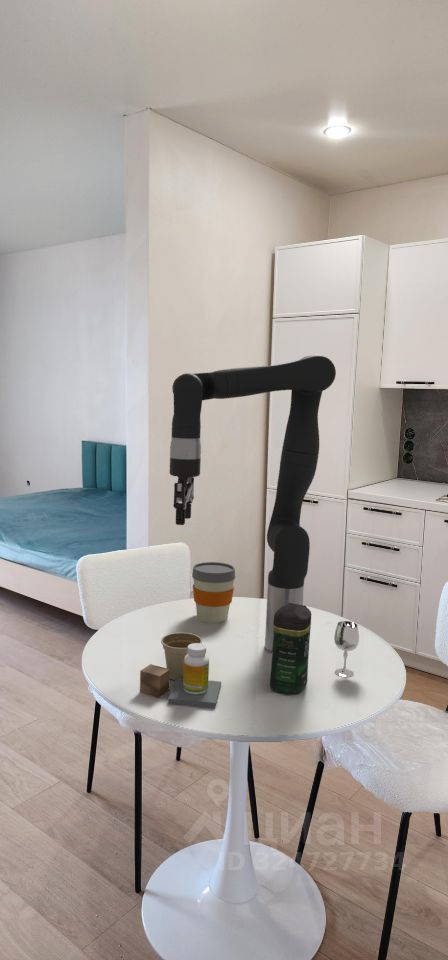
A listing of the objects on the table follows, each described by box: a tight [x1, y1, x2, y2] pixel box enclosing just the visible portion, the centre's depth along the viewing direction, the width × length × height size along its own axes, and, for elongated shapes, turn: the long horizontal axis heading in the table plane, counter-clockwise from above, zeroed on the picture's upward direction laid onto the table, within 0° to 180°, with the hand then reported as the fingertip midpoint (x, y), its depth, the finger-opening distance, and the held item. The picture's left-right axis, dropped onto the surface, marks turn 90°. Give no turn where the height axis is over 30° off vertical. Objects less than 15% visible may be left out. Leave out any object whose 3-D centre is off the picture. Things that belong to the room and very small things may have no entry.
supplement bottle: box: [183, 643, 210, 695], centre depth 136 cm, size 5×5×10 cm
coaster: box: [167, 678, 222, 709], centre depth 137 cm, size 10×10×1 cm
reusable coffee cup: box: [191, 561, 236, 624], centre depth 185 cm, size 13×13×15 cm
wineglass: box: [333, 620, 360, 678], centre depth 150 cm, size 6×6×12 cm
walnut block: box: [139, 663, 171, 699], centre depth 138 cm, size 5×4×5 cm
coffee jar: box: [269, 603, 312, 696], centre depth 141 cm, size 10×8×19 cm
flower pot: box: [160, 632, 203, 682], centre depth 146 cm, size 9×9×9 cm
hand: (183, 521), depth 157 cm, fingers open, 8 cm apart
